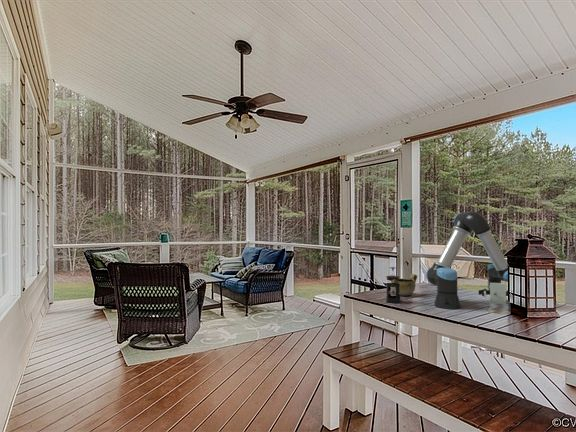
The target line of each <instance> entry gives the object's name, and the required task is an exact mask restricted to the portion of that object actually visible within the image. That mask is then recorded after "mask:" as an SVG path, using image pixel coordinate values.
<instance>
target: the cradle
mask: <svg viewBox="0 0 576 432" xmlns="http://www.w3.org/2000/svg"><path fill="white" fill-rule="evenodd" d="M487 312H488V313H491V314H503V315H510V314H511V302H510V301H509V300H506V304H497V303H490V302H489V307H487Z"/></svg>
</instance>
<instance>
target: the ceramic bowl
mask: <svg viewBox="0 0 576 432" xmlns="http://www.w3.org/2000/svg"><path fill="white" fill-rule="evenodd" d="M389 276H395V274H390V275H389ZM417 279H418V275H417V274H414V273H412V274H410V276H409V278H399V280H398V279H393V280H391V281H390V283H398V284H400V297H402V296H403V297H408V296H410V295H412V294H413V293H414V292H415V290H416V282H417ZM391 289H392V291H393V290H394V291H396V287H391Z"/></svg>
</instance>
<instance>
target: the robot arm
mask: <svg viewBox="0 0 576 432" xmlns="http://www.w3.org/2000/svg"><path fill="white" fill-rule="evenodd" d="M452 229H453V231H452V233H451V235H450V237H449V239H448V240H447V243H446V245H445V247H444V248H443V250H442V252H441V254H440V256H439V258H438V260H437V261H436V262H433V264H432V266H431V267H429V268H427V270H426V273H425V278H426V280H427V282H428V283H429V284H431V285H433V286H435V287H436V292H437V294H436V296H435V300H434V306H435V307H436V308H438V309H439V308H440V309H447V310H457V309H458V310H459V309H461V307H462V303H461V301H460V298H459V295H458V272H457V270H456V269H453V268H451V267H452V265H453V263H454V261H455V259H456V257H457V256H458V253H459V252H460V249H461V248H462V246H463V244H464V242H465V240H466V237H468V236H470V235H471V233H472V232H473V233H474V235H475V236H477V237H478V239H479V241H480V243H481V244H482V246H483V249H484V250H485V251H486V253H487V255H488V257H489V259H490V261H491V263H490V264H487V288H483V289H478V295H481V296H482V297H484V298H487V295H490V283H502V282H506V283H509V282H508V268H507V264H508V261H507V260H506V258H505V257H504V254H503V252H502V250H501V249H500V247H499V244H498V243H497V241H496V239H495V237H494V235H493V233H492V232H491V230H492V227H491V226H490V224H489V223H488V221H487V219H486V218H485V217H484V216H483V215H482V214H481V213H480V212H478V211H463V212H459V213H457V214H456V215H455V217H454V218H453V225H452ZM508 290H509V289H506V297H509V296H508ZM509 298H510V300H514V299H513V298H514V297H513V295H512V294H511V293H510V297H509Z"/></svg>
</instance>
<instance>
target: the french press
mask: <svg viewBox="0 0 576 432" xmlns="http://www.w3.org/2000/svg"><path fill="white" fill-rule="evenodd" d="M389 269H391V271H395V269H396V266H395V267H394V266H391V267H389ZM393 279H398V280H399V279H401V276H399V275H394V276H390V275H386V280H387V281H390V282H387V283H385V286H386V299H385V303H388V304H394V305H395V304H401V302H402V301H401V295H400V284H398V283H391V280H393ZM392 287H396V291H394V290H393V289H392ZM391 289H392V290H391Z"/></svg>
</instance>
